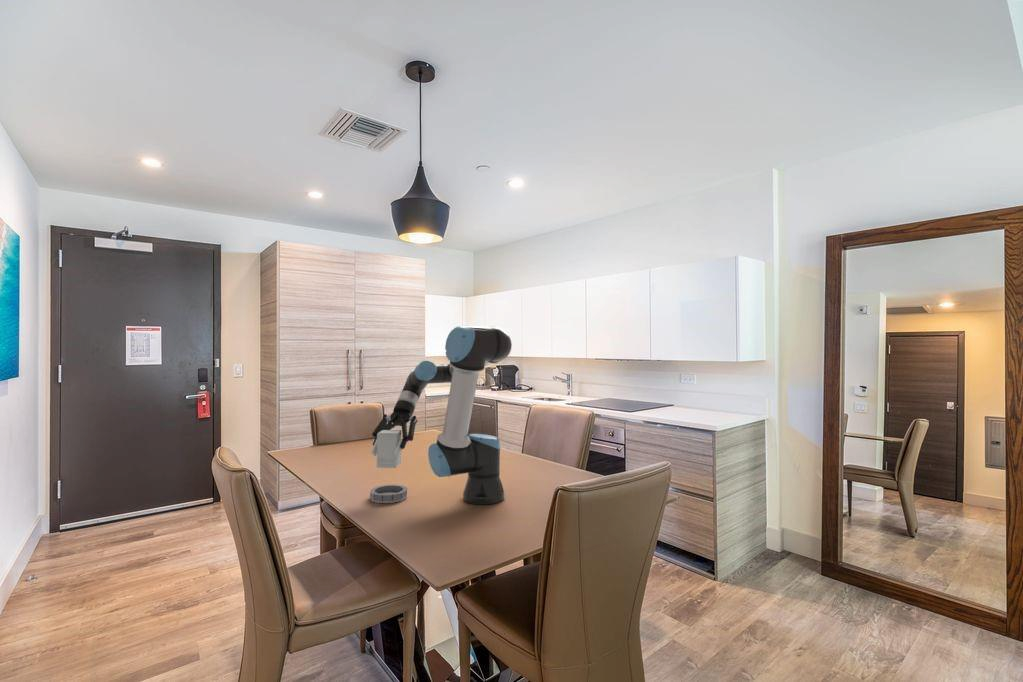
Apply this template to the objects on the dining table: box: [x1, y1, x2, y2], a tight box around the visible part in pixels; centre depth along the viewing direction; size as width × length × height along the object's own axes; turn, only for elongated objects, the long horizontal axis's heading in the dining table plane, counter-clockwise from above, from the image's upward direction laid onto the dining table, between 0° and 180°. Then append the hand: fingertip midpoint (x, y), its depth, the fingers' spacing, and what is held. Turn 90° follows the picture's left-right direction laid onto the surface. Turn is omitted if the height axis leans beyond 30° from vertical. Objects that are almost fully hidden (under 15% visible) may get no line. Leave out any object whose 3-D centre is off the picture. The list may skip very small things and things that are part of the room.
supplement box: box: [376, 429, 402, 469], centre depth 176 cm, size 7×7×13 cm
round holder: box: [369, 484, 408, 504], centre depth 176 cm, size 13×13×3 cm
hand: (384, 454), depth 173 cm, fingers closed on supplement box, 9 cm apart
